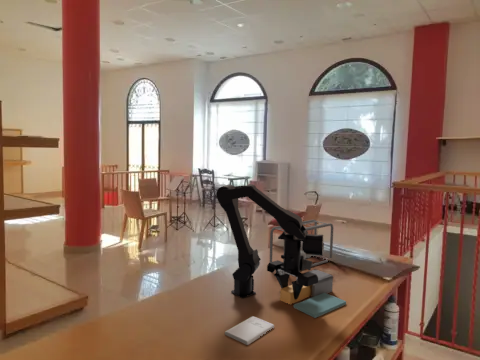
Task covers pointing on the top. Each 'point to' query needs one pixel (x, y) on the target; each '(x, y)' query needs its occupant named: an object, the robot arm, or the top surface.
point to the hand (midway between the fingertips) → (290, 296)
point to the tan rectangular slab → (288, 295)
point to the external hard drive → (249, 330)
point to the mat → (319, 304)
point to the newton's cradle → (311, 233)
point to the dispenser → (322, 283)
